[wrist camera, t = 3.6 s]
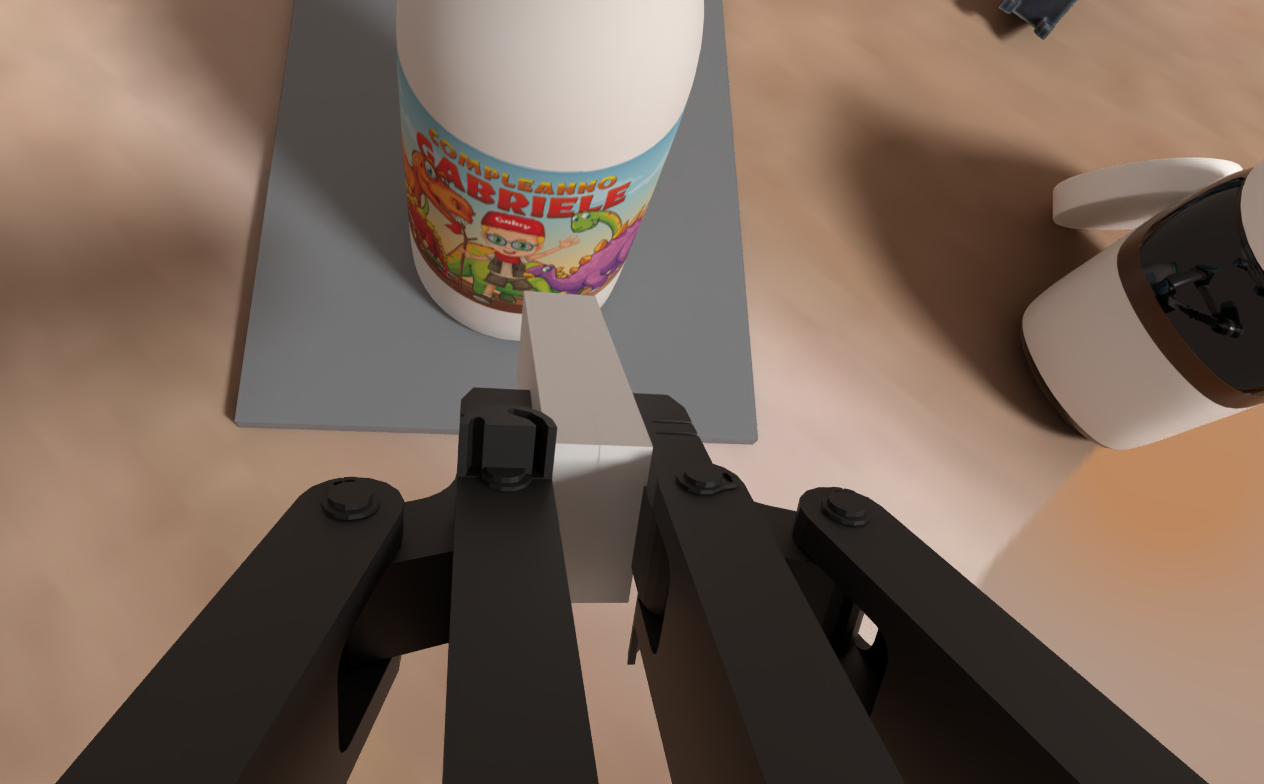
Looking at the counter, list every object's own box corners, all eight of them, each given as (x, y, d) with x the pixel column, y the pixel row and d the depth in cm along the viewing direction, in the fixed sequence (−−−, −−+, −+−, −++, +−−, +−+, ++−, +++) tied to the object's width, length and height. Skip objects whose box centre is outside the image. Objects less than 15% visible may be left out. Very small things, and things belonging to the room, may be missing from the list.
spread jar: (1070, 489, 33) (1365, 393, 23) (919, 259, 36) (1122, 72, 25) (1251, 377, 37) (1574, 250, 27) (1104, 176, 40) (1347, -15, 29)
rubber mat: (752, 444, 31) (757, 439, 30) (238, 426, 27) (234, 421, 27) (702, -190, 43) (705, -202, 42) (335, -262, 39) (334, -275, 38)
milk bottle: (409, 163, 31) (352, -588, 13) (607, 168, 33) (805, -486, 15) (414, 350, 29) (352, -250, 11) (628, 345, 31) (896, -177, 12)
